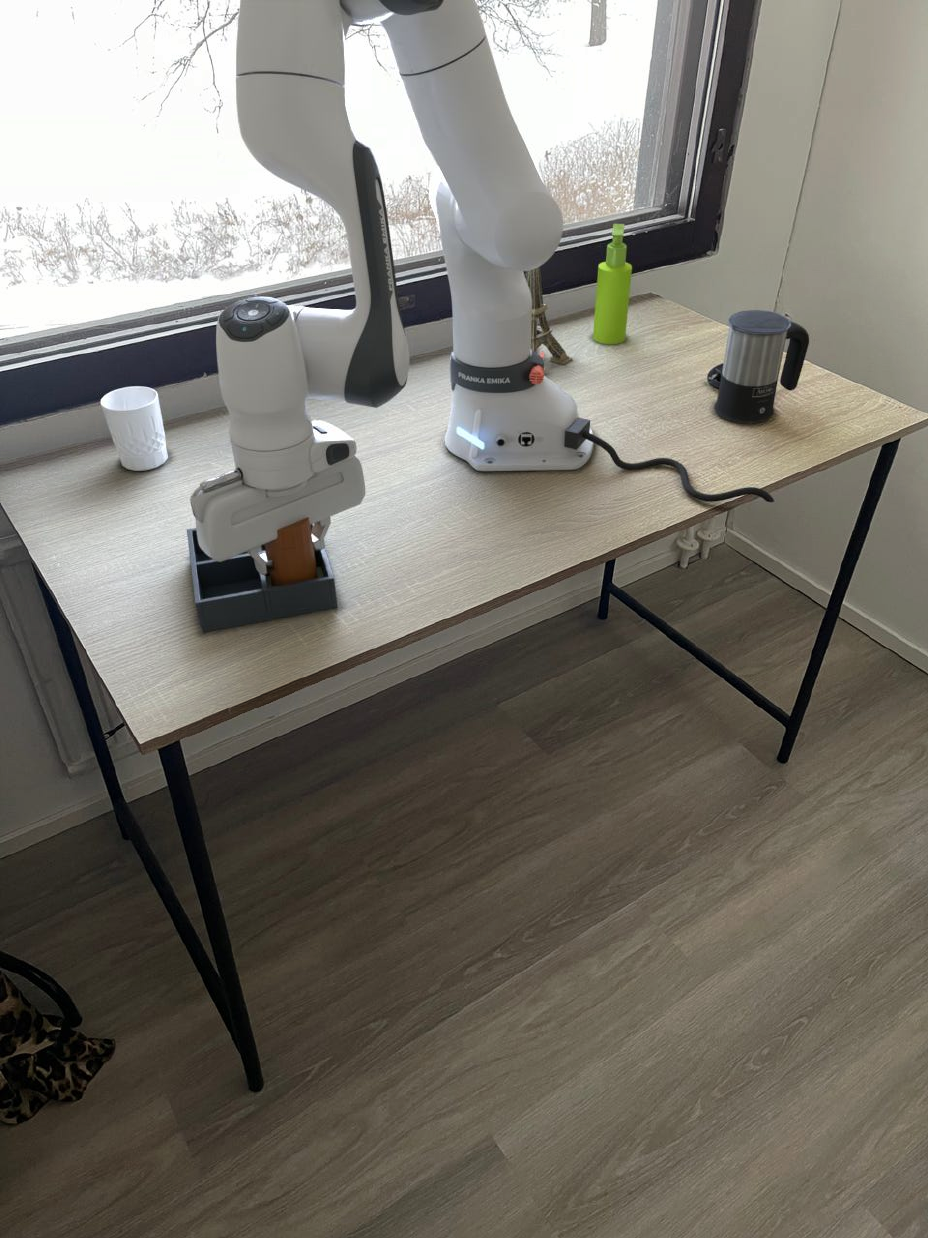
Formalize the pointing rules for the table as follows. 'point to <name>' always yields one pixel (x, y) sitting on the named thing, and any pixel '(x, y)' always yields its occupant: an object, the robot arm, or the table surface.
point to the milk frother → (757, 365)
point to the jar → (292, 554)
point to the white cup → (136, 427)
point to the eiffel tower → (542, 320)
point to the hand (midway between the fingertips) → (291, 559)
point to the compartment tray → (252, 590)
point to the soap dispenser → (613, 292)
